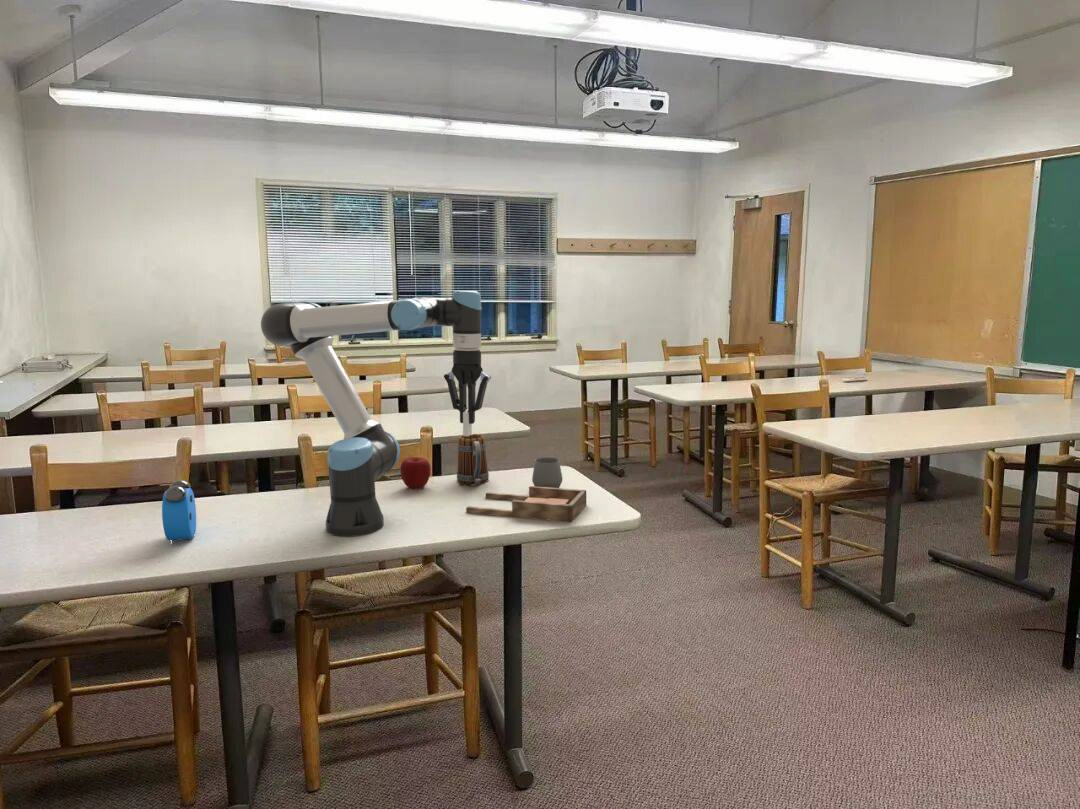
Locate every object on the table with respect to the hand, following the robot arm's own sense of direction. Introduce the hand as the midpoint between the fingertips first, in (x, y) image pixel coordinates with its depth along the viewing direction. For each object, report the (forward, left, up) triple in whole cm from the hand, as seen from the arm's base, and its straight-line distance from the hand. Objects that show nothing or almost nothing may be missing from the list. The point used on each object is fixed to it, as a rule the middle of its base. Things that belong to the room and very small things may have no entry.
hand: (467, 434), depth 195 cm
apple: (-29, +22, -24) cm, 43 cm away
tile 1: (+16, +10, -24) cm, 30 cm away
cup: (+13, +29, -24) cm, 40 cm away
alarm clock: (-66, -36, -24) cm, 79 cm away
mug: (-13, +32, -24) cm, 42 cm away
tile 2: (+22, +11, -24) cm, 34 cm away
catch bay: (+13, +11, -23) cm, 29 cm away
